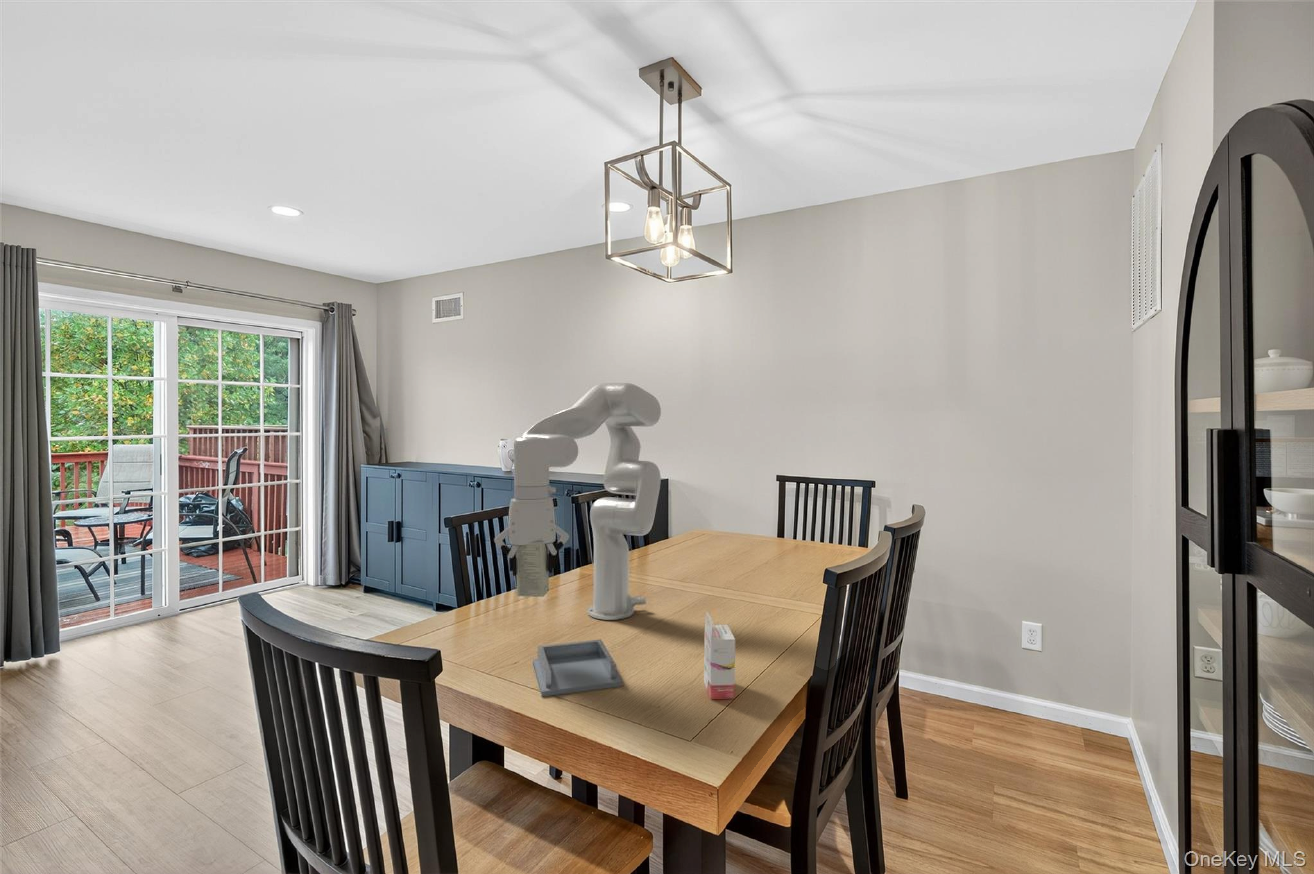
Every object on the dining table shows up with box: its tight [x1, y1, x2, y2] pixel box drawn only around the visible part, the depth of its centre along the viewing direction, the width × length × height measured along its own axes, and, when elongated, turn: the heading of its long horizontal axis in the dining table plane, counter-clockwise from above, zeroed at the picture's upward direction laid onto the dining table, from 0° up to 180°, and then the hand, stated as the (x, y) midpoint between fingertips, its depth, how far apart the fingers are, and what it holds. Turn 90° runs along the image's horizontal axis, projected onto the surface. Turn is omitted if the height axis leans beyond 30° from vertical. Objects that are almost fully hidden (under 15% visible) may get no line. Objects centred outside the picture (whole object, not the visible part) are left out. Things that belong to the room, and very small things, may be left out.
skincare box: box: [515, 542, 550, 598], centre depth 135 cm, size 6×4×12 cm
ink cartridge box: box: [703, 611, 736, 700], centre depth 121 cm, size 9×5×15 cm, turn 5°
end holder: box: [532, 639, 623, 697], centre depth 128 cm, size 16×16×4 cm
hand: (532, 572), depth 135 cm, fingers closed on skincare box, 7 cm apart
